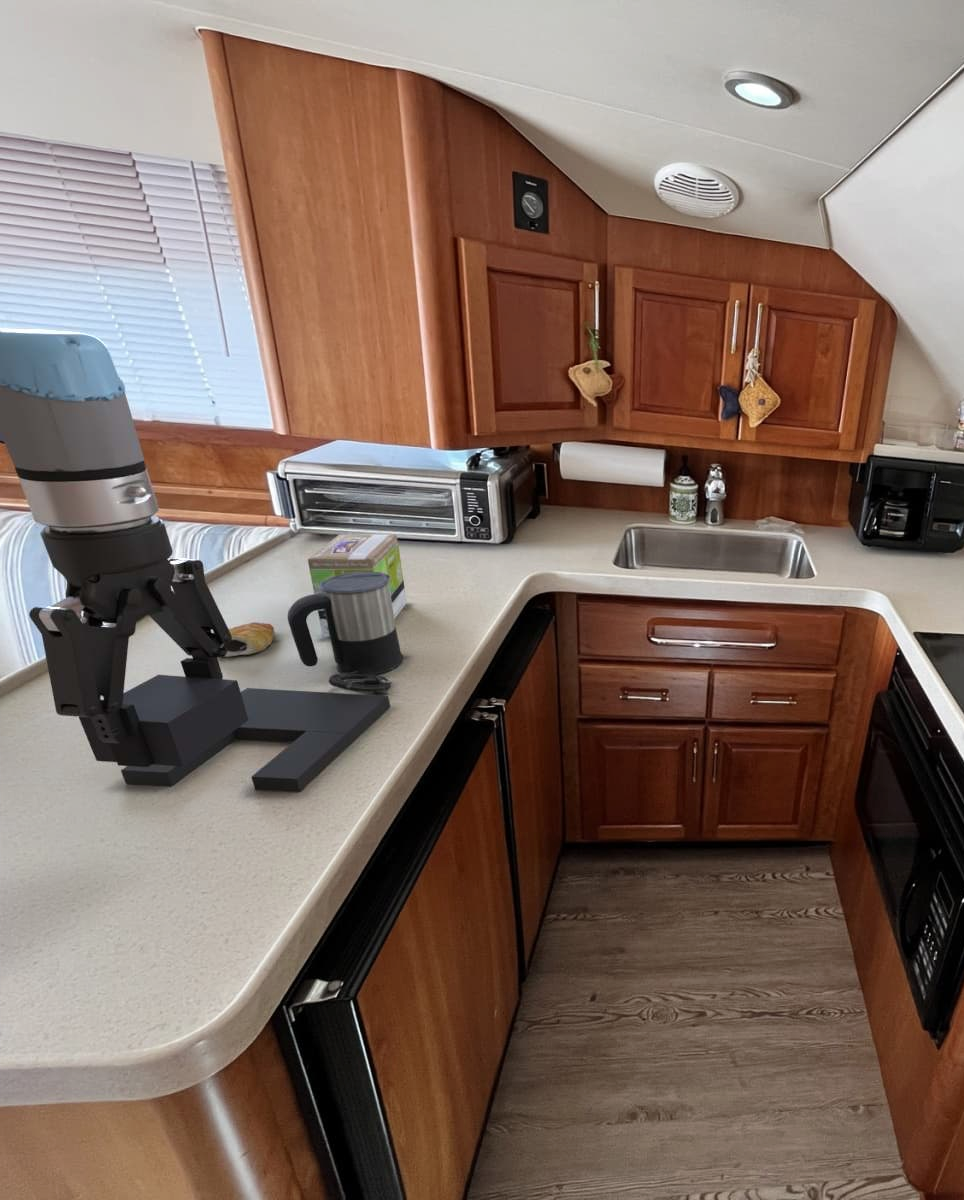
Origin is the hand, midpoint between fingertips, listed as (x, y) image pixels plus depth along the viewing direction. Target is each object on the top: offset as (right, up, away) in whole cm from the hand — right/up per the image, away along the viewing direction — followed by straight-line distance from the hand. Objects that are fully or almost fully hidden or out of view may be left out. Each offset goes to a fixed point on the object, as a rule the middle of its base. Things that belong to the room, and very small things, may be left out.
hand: (177, 737), depth 64 cm
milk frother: (-6, +2, +37) cm, 38 cm away
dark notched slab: (-7, -5, +20) cm, 22 cm away
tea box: (-18, +10, +55) cm, 59 cm away
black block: (0, 0, 0) cm, 0 cm away
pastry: (-30, +6, +42) cm, 52 cm away
